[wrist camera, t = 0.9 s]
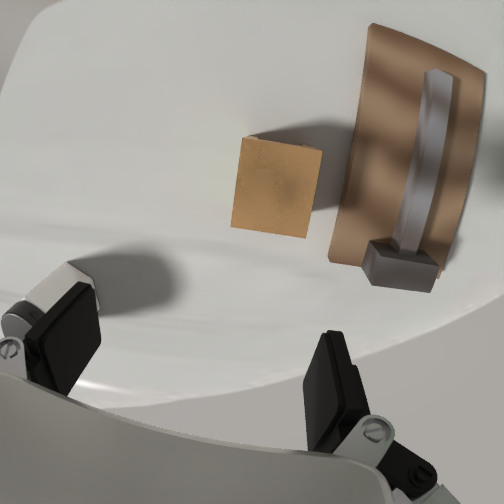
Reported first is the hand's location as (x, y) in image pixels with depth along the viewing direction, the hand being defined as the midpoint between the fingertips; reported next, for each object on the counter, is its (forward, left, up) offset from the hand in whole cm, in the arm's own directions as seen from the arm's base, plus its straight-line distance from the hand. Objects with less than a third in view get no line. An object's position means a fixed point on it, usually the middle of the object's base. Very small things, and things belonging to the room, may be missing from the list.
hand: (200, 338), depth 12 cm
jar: (+15, -22, -21) cm, 33 cm away
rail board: (-8, +16, -21) cm, 28 cm away
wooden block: (-3, +2, -21) cm, 21 cm away
